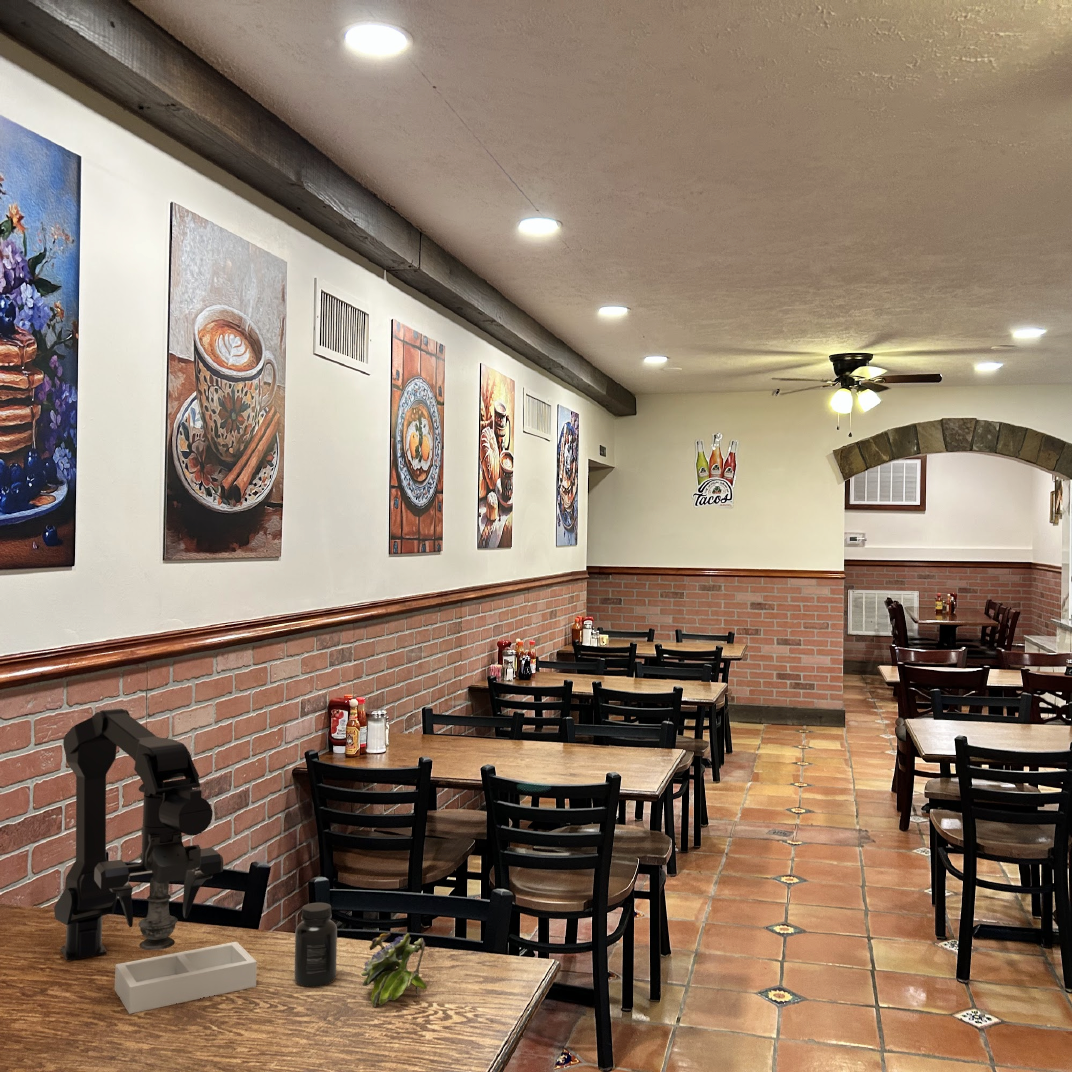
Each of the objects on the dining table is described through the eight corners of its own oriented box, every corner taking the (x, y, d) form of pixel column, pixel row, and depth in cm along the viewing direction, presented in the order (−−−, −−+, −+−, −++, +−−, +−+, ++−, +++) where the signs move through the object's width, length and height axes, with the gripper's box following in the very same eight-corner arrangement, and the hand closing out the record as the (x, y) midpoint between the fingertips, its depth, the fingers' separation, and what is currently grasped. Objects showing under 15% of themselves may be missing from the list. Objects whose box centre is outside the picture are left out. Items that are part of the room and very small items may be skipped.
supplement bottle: (343, 975, 171) (345, 903, 171) (322, 990, 165) (324, 915, 165) (308, 969, 173) (310, 898, 174) (285, 984, 167) (287, 910, 167)
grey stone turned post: (172, 950, 160) (174, 873, 160) (133, 951, 159) (136, 874, 159) (180, 937, 166) (183, 862, 166) (142, 937, 165) (145, 863, 165)
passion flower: (377, 1021, 166) (388, 945, 173) (437, 1019, 163) (446, 942, 170) (343, 1003, 158) (356, 924, 165) (406, 1001, 154) (416, 920, 162)
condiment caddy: (114, 989, 163) (115, 964, 163) (235, 965, 174) (236, 941, 174) (129, 1013, 155) (130, 987, 155) (256, 986, 166) (256, 961, 166)
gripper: (110, 843, 151) (106, 949, 150) (235, 827, 161) (232, 927, 161) (95, 826, 160) (91, 926, 160) (214, 812, 171) (211, 906, 170)
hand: (158, 921), depth 162 cm, fingers closed on grey stone turned post, 8 cm apart
